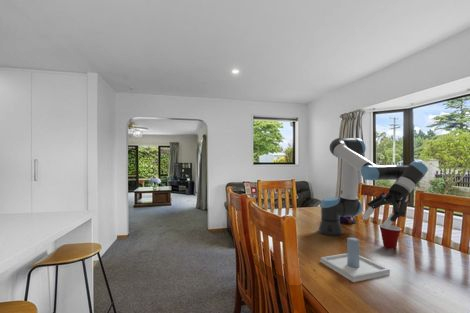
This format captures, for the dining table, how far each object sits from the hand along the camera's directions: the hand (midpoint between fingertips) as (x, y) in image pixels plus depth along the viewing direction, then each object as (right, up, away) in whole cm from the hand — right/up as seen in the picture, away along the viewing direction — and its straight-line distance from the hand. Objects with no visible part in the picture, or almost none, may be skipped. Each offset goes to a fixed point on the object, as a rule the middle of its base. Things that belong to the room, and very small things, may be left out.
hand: (374, 221), depth 109 cm
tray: (-11, -21, -2) cm, 23 cm away
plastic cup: (+23, -21, +23) cm, 39 cm away
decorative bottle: (+22, -22, +78) cm, 84 cm away
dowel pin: (-11, -20, -2) cm, 23 cm away
